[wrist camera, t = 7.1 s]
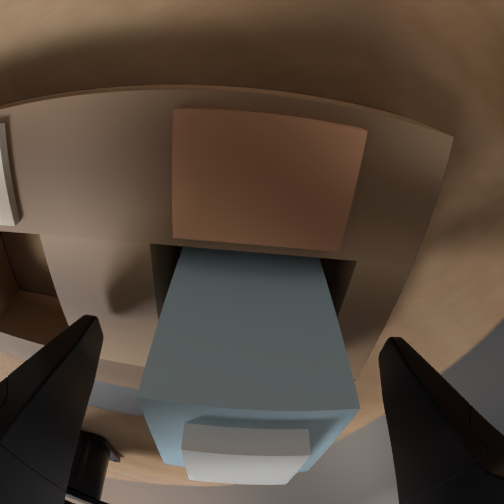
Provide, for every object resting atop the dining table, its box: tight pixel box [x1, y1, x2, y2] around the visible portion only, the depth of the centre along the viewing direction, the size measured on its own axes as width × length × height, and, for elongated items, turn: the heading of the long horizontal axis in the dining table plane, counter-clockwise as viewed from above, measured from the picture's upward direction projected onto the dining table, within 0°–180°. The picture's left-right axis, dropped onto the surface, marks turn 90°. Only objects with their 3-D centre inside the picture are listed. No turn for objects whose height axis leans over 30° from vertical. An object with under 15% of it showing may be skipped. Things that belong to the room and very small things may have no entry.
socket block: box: [0, 84, 454, 389], centre depth 10 cm, size 11×18×3 cm, turn 84°
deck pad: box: [88, 380, 145, 418], centre depth 16 cm, size 9×9×1 cm
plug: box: [137, 246, 360, 485], centre depth 9 cm, size 4×4×8 cm
